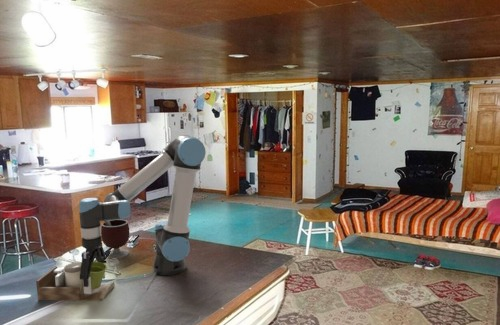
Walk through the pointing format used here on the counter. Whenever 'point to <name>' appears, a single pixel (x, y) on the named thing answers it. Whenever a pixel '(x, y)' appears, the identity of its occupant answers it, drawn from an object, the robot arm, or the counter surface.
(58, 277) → the pusher
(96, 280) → the plant pot
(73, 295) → the wooden organizer tray
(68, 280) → the cream jar
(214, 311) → the counter surface
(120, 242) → the mate gourd
